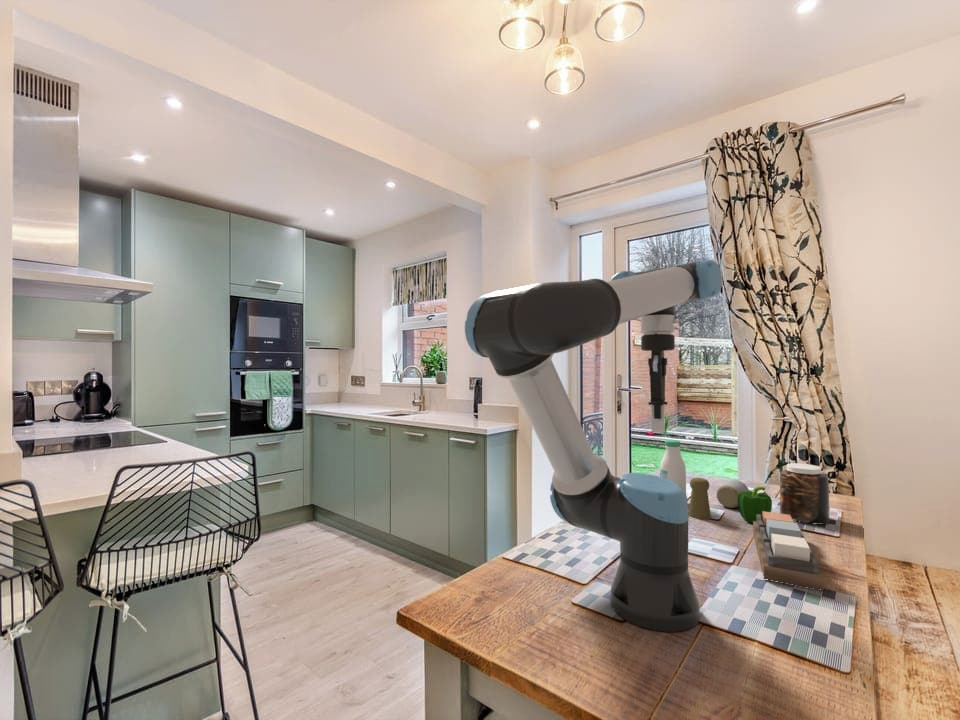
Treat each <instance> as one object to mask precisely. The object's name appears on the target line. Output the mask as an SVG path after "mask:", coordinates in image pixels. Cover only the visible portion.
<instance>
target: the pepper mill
mask: <svg viewBox="0 0 960 720" xmlns="http://www.w3.org/2000/svg"><path fill="white" fill-rule="evenodd" d="M689 487H690V489H691V494H690V501H689V506H688V511H689V517H690V518H693V519H698V520H710V519H711V518H712V515H711V514H712V513H711V507H710V501H709V500H710V499H709V494H708V490H709V488H710V482H709V481H708V479H706V478H704V477H693V478H691V479H690V481H689ZM710 517H711V518H710ZM709 518H710V519H709Z"/></svg>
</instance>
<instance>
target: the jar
mask: <svg viewBox="0 0 960 720" xmlns="http://www.w3.org/2000/svg"><path fill="white" fill-rule="evenodd" d="M829 484H830V483H829V477H828V475H827V474H824V473H822V467H821V466H818V465H816V464H815V465H814V464H809V463H808V464H807V463H798V462H796V463H795V462H793V463H792V462H791V463H787V464H786V469H783V470H782V471H780V475H779V513H780V514H788V515H790V516H791V518H792V519H795V520H796V521H800V522H804V523H803V524H805V523H826V522H828V521H829V522H830V487H829ZM800 522H799V523H800ZM829 522H828V523H829ZM826 524H827V523H826Z"/></svg>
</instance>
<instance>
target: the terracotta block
mask: <svg viewBox="0 0 960 720" xmlns="http://www.w3.org/2000/svg"><path fill="white" fill-rule="evenodd" d="M766 519H771V520H778V521H786V522H793V520H792V518H791V516H790V515H788V514H780V512H779V513H778V512H772V511H771V512H764V511H762V522H763V524H766Z"/></svg>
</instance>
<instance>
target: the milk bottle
mask: <svg viewBox="0 0 960 720" xmlns="http://www.w3.org/2000/svg"><path fill="white" fill-rule="evenodd" d="M664 447H665V452H664V455H663V457H662V459H661V461H660V468H659V477H662V478H665V479H668V480H670V481H672V482H674V483H676V484H678V485H679V486H680V487H681V488H682V489H683V490H684V492H685V493H686V494H687V471H686V469H687V468H686V463H685V461H684V459H683V457H682V454H681V441H680V440H676V439H667V440H665V441H664Z"/></svg>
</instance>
